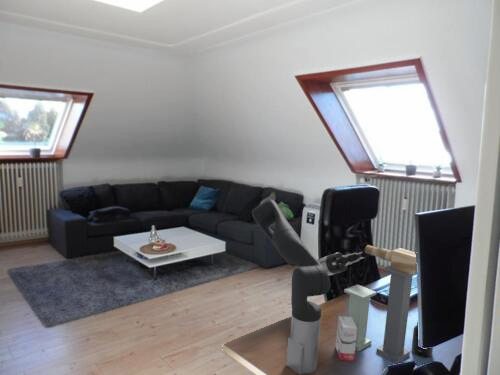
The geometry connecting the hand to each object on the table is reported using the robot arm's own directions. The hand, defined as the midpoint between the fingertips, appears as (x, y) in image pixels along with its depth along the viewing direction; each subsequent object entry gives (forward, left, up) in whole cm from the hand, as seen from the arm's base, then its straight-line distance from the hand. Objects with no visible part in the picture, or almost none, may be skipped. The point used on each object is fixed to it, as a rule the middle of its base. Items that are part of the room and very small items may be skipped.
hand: (364, 254), depth 143 cm
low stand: (-5, -3, -32) cm, 32 cm away
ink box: (-14, -5, -32) cm, 35 cm away
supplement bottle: (+9, -21, -32) cm, 39 cm away
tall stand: (0, -15, -32) cm, 35 cm away
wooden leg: (0, -10, -1) cm, 10 cm away
